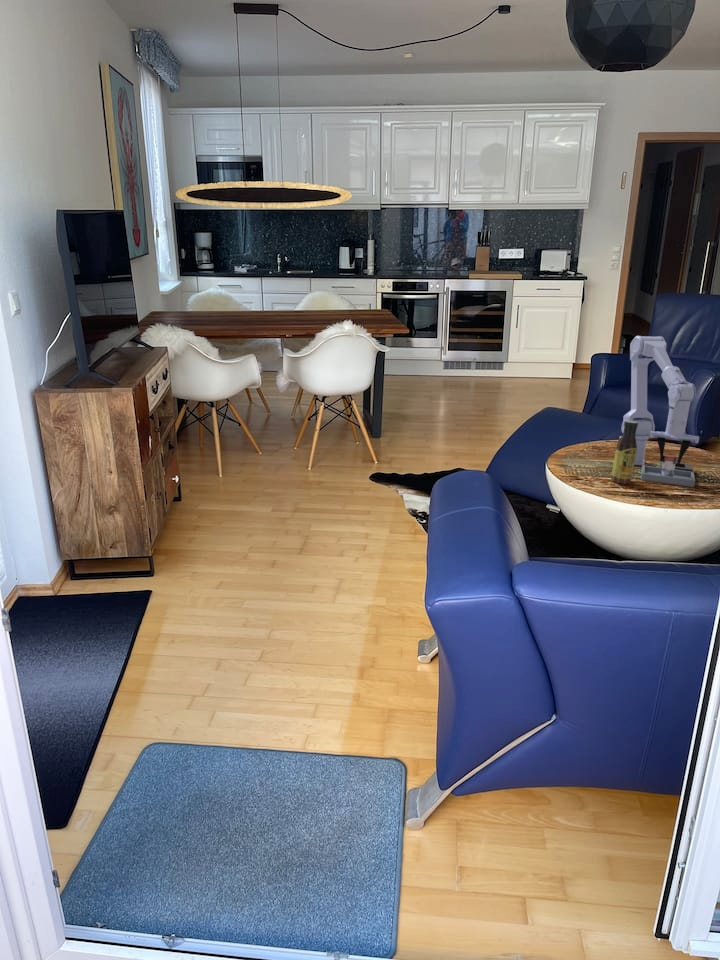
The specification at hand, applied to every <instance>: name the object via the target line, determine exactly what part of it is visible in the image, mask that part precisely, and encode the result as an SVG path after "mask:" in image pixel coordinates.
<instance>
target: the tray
mask: <svg viewBox="0 0 720 960" xmlns="http://www.w3.org/2000/svg"><path fill="white" fill-rule="evenodd" d="M695 477H696V476H695V474H694V471H693V472H690V471H683V470H674V477H669V476H662V475H661V468H660V466H653V465H652V466H650V465H641V470H640V480H641V481H646V482H652V483H653V482H655V483H661V484H668V485H674V486H675V485H676V486H683V487H691V488H694V487H695V484H696V478H695Z"/></svg>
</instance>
